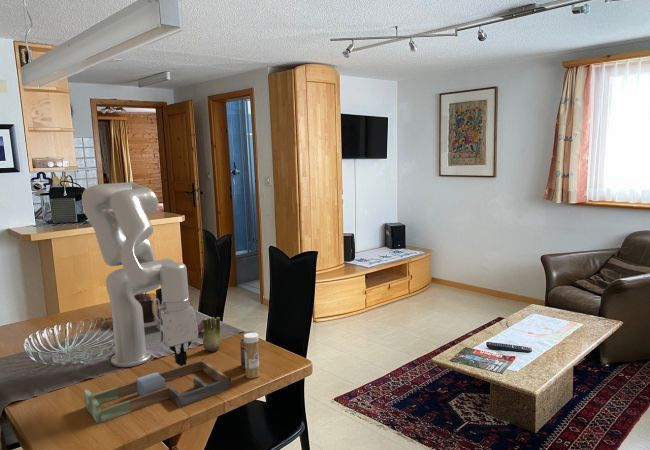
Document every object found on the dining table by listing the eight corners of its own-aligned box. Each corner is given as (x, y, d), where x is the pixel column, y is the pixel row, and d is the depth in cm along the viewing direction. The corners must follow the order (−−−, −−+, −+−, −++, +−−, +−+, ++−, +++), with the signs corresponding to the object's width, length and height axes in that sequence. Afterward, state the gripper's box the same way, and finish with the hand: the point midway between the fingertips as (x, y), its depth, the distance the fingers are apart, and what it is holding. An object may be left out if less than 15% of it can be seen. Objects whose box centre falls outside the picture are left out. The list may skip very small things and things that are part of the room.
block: (137, 394, 142) (136, 378, 141) (158, 387, 146) (156, 372, 145) (145, 402, 138) (144, 385, 137) (166, 395, 141) (164, 379, 141)
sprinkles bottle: (256, 379, 149) (254, 338, 147) (242, 378, 151) (240, 336, 149) (262, 373, 154) (260, 332, 152) (249, 371, 155) (247, 331, 153)
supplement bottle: (256, 371, 155) (254, 337, 153) (238, 369, 156) (236, 336, 155) (262, 363, 161) (260, 330, 159) (245, 361, 162) (243, 329, 160)
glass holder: (183, 322, 199) (181, 287, 197) (165, 336, 185) (162, 298, 183) (164, 321, 201) (161, 286, 198) (144, 334, 187) (141, 296, 185)
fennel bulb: (222, 347, 174) (221, 315, 172) (218, 353, 169) (216, 320, 167) (206, 347, 174) (205, 315, 173) (202, 353, 170) (200, 320, 168)
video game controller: (220, 339, 185) (225, 321, 187) (212, 338, 181) (217, 319, 183) (201, 334, 190) (206, 317, 192) (193, 333, 186) (198, 315, 188)
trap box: (85, 407, 135) (84, 390, 134) (203, 367, 158) (202, 353, 157) (106, 435, 122) (104, 416, 121) (231, 388, 145) (230, 372, 144)
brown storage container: (156, 321, 202) (153, 278, 199) (128, 326, 196) (124, 283, 193) (149, 310, 215) (146, 270, 212) (122, 315, 209) (119, 274, 206)
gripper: (156, 313, 136) (162, 376, 138) (205, 301, 145) (210, 360, 148) (146, 308, 141) (152, 368, 144) (194, 296, 151) (198, 353, 154)
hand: (181, 364), depth 146 cm, fingers closed
